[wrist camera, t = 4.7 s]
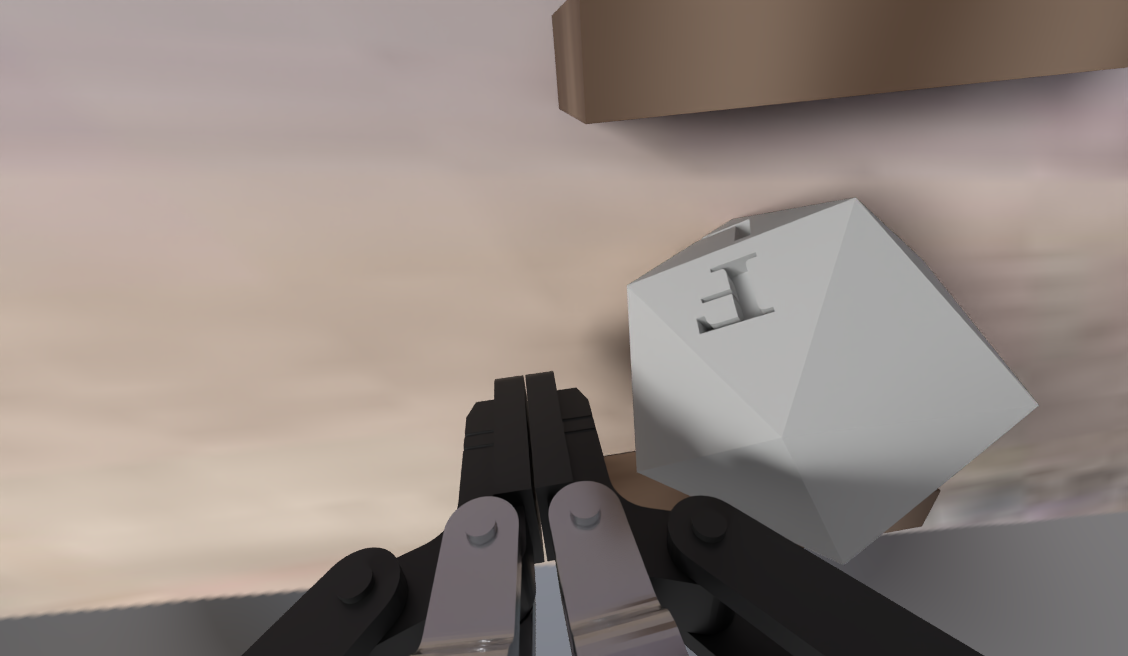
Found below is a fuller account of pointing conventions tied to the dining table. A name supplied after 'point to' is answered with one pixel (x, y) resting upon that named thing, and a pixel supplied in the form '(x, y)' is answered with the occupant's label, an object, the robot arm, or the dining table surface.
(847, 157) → the dining table surface
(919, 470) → the die
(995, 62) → the pair of wooden rails
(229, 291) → the dining table surface
